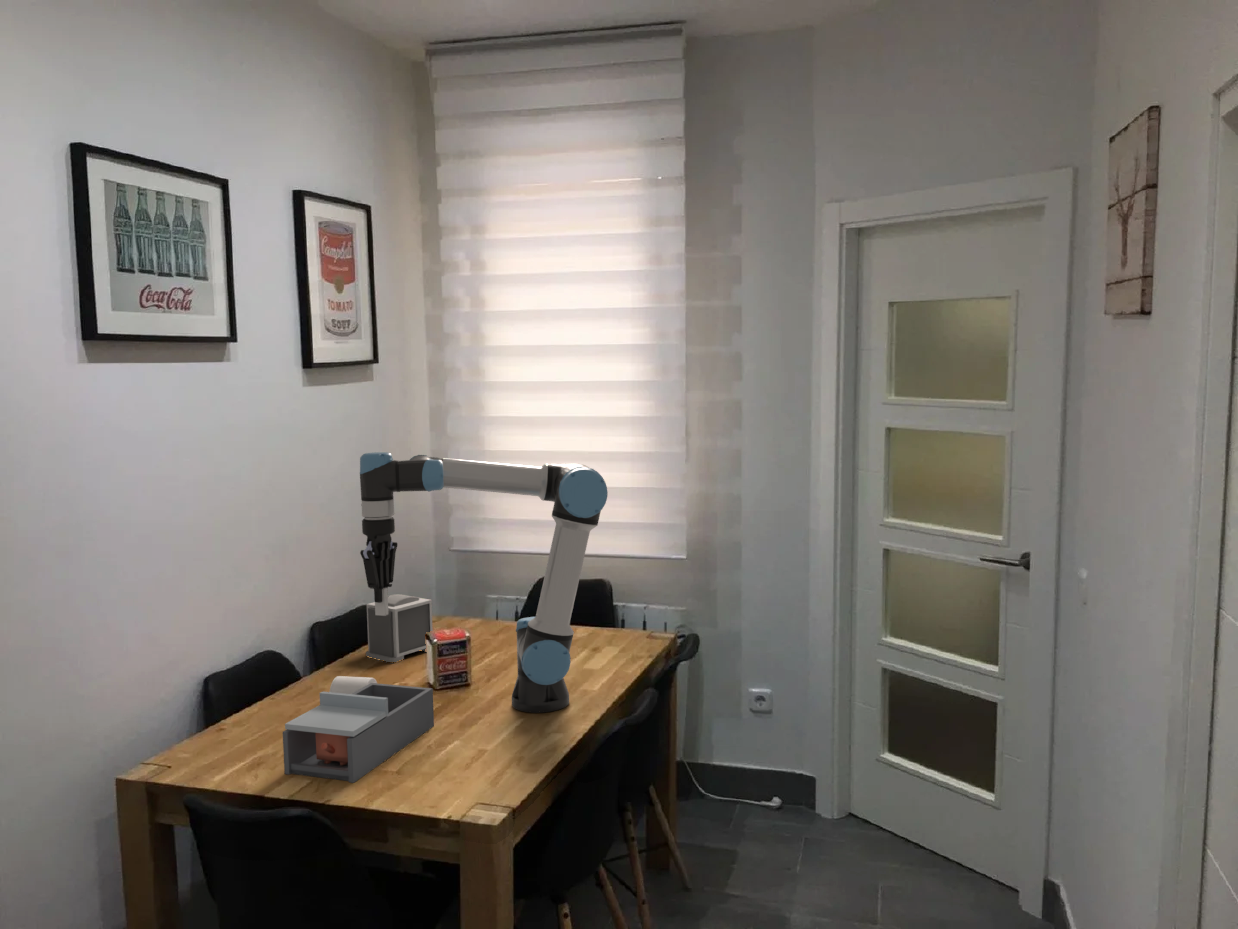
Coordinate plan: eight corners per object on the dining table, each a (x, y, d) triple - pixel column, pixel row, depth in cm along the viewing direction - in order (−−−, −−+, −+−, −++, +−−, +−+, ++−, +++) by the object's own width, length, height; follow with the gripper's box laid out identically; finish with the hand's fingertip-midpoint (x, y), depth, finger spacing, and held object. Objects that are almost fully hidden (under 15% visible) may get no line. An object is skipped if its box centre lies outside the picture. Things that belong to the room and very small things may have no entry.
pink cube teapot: (308, 769, 211) (306, 732, 210) (338, 749, 222) (337, 714, 222) (339, 773, 209) (338, 735, 208) (368, 752, 220) (367, 717, 220)
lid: (388, 715, 219) (387, 697, 219) (353, 736, 206) (352, 718, 206) (323, 708, 224) (322, 691, 224) (285, 729, 211) (284, 711, 211)
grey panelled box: (409, 643, 316) (407, 588, 314) (437, 649, 308) (435, 593, 306) (364, 657, 301) (361, 599, 299) (392, 663, 293) (390, 604, 292)
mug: (365, 713, 250) (363, 683, 249) (329, 711, 252) (328, 681, 251) (385, 698, 261) (384, 669, 261) (351, 696, 263) (350, 667, 263)
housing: (434, 726, 239) (432, 688, 238) (353, 782, 206) (351, 739, 205) (372, 719, 245) (371, 683, 244) (284, 774, 211) (282, 731, 210)
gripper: (379, 513, 237) (382, 607, 239) (348, 520, 225) (353, 620, 227) (406, 514, 235) (409, 609, 237) (377, 521, 223) (381, 622, 225)
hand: (381, 614), depth 232 cm, fingers closed
